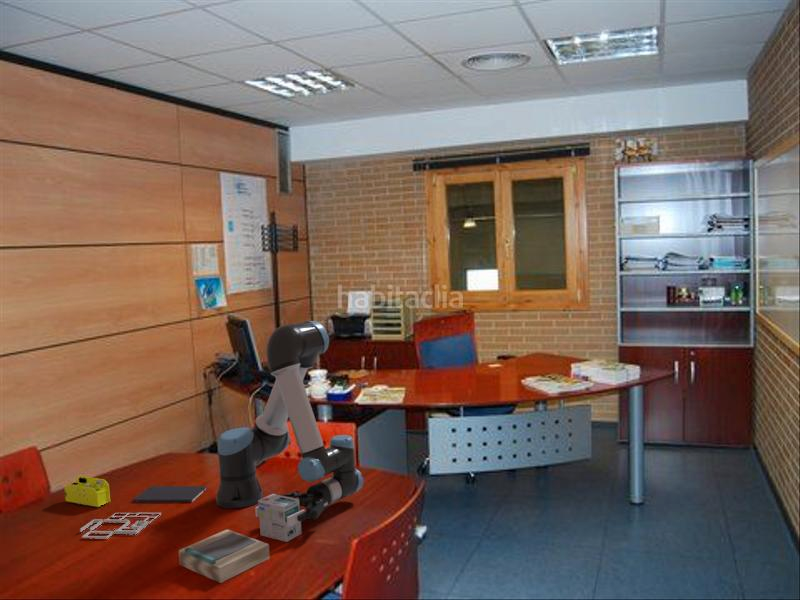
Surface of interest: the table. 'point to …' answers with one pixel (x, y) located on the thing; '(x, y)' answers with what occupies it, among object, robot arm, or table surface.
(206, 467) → the table surface
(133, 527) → the floor plan model
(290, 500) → the light bulb box
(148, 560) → the table surface
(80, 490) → the yellow toy chassis
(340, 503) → the table surface
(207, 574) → the dock
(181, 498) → the notebook
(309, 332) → the robot arm
